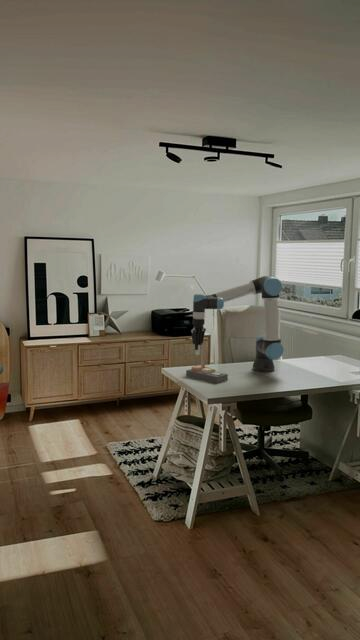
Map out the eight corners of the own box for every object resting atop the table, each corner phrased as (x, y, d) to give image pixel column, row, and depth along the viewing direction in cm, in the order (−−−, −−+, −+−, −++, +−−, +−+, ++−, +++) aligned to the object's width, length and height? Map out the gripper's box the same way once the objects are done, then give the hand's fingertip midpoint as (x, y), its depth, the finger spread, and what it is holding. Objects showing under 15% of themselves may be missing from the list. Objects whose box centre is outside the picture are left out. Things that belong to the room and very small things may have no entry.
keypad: (186, 376, 339) (186, 370, 339) (197, 373, 347) (197, 367, 347) (216, 383, 323) (217, 377, 322) (227, 380, 331) (227, 374, 330)
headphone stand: (201, 373, 349) (202, 340, 346) (194, 369, 359) (195, 337, 356) (215, 372, 353) (216, 339, 350) (208, 368, 363) (209, 337, 360)
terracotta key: (196, 370, 344) (196, 365, 343) (202, 371, 340) (202, 367, 340) (191, 371, 340) (191, 367, 339) (197, 372, 337) (197, 368, 336)
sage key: (215, 376, 333) (216, 372, 333) (222, 378, 330) (222, 373, 330) (211, 378, 330) (211, 373, 329) (217, 379, 326) (217, 374, 326)
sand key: (206, 372, 338) (206, 367, 338) (212, 373, 335) (212, 369, 335) (201, 373, 335) (201, 369, 334) (207, 375, 331) (207, 370, 331)
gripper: (200, 317, 343) (199, 352, 346) (187, 318, 333) (186, 355, 336) (209, 318, 338) (208, 354, 341) (196, 319, 328) (195, 356, 331)
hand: (197, 354), depth 338 cm, fingers closed
